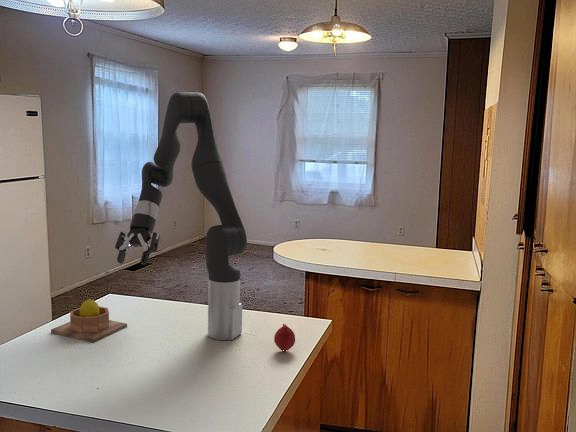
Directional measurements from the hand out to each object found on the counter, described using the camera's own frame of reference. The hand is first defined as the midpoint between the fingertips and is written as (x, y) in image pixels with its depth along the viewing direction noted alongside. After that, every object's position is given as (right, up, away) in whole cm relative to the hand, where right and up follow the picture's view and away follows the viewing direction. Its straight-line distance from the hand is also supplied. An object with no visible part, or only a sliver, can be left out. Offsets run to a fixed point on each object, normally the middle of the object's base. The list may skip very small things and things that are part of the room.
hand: (131, 263), depth 166 cm
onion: (+48, -23, -20) cm, 57 cm away
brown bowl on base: (-10, -19, -9) cm, 23 cm away
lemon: (-10, -18, -9) cm, 22 cm away
